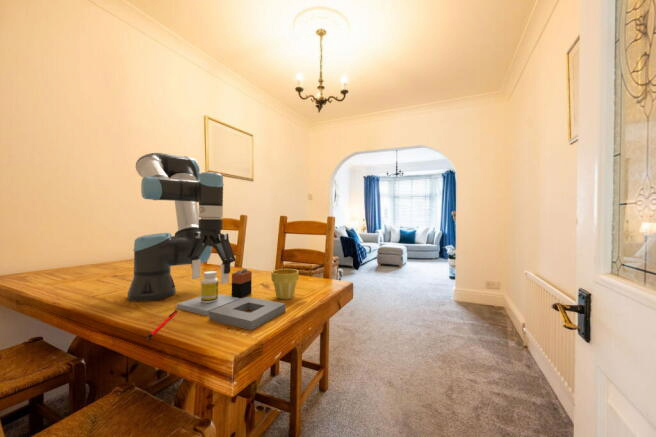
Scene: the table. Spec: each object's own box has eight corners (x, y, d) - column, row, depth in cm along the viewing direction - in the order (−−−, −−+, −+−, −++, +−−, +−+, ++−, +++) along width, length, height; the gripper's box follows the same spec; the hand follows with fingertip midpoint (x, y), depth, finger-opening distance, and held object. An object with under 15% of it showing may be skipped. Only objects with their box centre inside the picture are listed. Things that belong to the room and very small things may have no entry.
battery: (251, 294, 103) (252, 268, 103) (240, 299, 97) (240, 272, 97) (242, 293, 105) (243, 267, 105) (230, 297, 98) (231, 271, 98)
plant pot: (266, 295, 102) (266, 270, 102) (289, 291, 108) (290, 267, 108) (279, 302, 94) (279, 275, 94) (303, 297, 100) (303, 271, 100)
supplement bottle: (219, 301, 89) (219, 272, 89) (201, 304, 86) (202, 274, 86) (216, 297, 94) (217, 270, 94) (199, 299, 91) (200, 271, 91)
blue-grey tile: (177, 308, 86) (177, 303, 86) (211, 296, 99) (211, 292, 99) (207, 315, 81) (207, 310, 81) (240, 302, 93) (240, 298, 93)
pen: (178, 312, 84) (178, 308, 84) (149, 340, 65) (149, 335, 65) (175, 312, 84) (175, 309, 84) (145, 340, 65) (145, 336, 65)
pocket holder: (209, 319, 78) (209, 311, 77) (247, 303, 92) (247, 296, 92) (251, 330, 71) (251, 321, 71) (285, 311, 85) (285, 303, 85)
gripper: (176, 217, 91) (175, 278, 92) (230, 219, 81) (229, 288, 81) (195, 217, 98) (194, 274, 99) (247, 219, 88) (246, 282, 88)
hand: (210, 280), depth 90 cm, fingers open, 13 cm apart
